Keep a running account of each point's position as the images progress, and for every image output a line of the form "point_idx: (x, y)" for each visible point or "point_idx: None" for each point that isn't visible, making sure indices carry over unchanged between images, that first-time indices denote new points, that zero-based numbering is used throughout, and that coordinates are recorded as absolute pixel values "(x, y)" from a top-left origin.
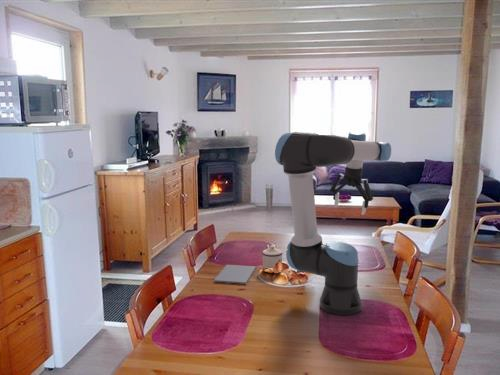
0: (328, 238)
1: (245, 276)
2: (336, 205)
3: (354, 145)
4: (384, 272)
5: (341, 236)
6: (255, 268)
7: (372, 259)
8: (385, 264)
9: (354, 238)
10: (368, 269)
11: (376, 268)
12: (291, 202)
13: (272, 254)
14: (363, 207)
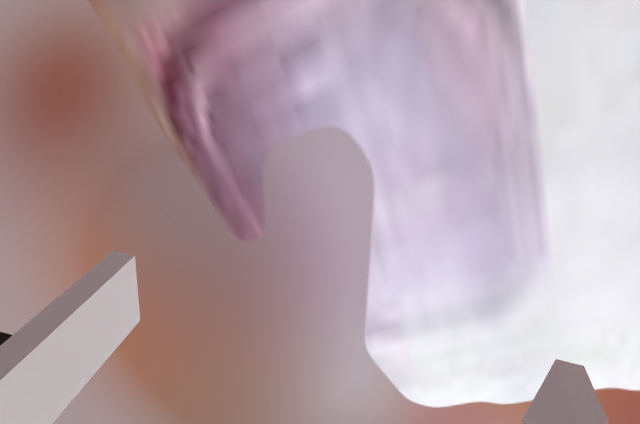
0: (520, 368)
1: None
2: (552, 399)
3: None
4: (126, 19)
5: (466, 397)
6: None
7: (259, 189)
8: (178, 146)
9: (409, 390)
10: (218, 28)
11: (189, 66)
12: None
13: None
14: (30, 329)
